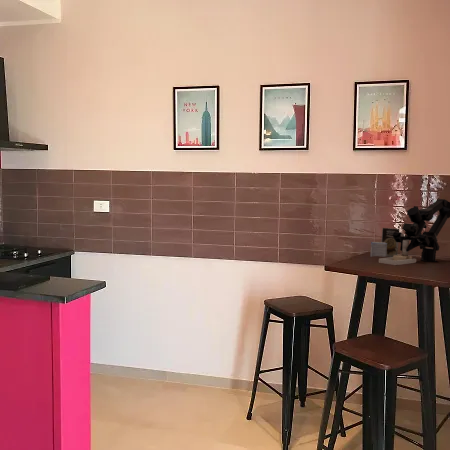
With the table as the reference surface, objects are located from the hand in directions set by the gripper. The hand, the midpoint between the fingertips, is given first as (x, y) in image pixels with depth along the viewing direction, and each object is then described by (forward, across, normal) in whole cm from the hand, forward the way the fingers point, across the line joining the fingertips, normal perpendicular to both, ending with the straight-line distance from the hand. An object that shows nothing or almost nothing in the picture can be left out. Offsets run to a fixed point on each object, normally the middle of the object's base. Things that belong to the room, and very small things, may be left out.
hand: (403, 250), depth 270 cm
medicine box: (-1, -20, +11) cm, 23 cm away
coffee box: (-9, -21, +20) cm, 30 cm away
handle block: (+4, 0, +4) cm, 6 cm away
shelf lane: (+9, 0, +1) cm, 9 cm away
